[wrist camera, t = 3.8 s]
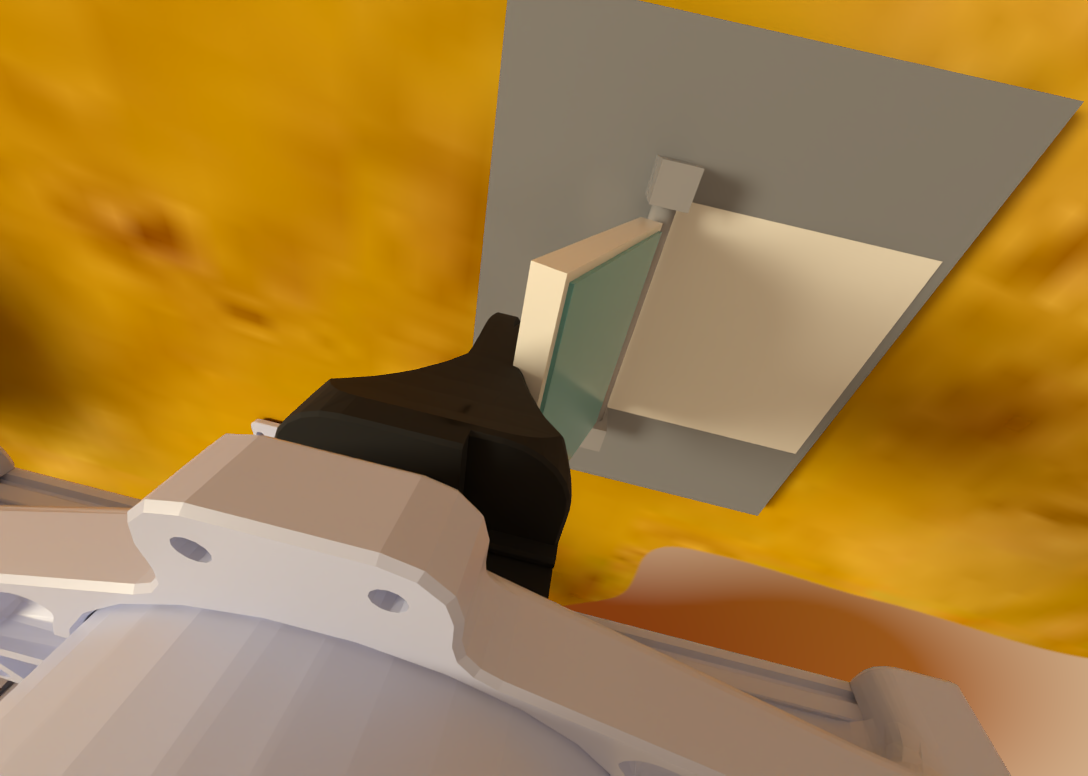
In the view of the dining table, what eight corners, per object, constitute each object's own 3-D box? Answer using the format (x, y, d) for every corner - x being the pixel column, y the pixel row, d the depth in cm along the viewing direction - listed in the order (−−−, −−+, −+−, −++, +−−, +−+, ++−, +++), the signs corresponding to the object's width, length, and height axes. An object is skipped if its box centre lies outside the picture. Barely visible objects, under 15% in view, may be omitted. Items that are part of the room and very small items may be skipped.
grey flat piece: (752, 500, 22) (769, 549, 19) (469, 429, 22) (450, 468, 20) (1050, 103, 12) (1167, 97, 9) (517, -19, 12) (491, -56, 9)
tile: (578, 415, 17) (596, 423, 17) (483, 536, 11) (507, 551, 11) (641, 216, 12) (666, 224, 12) (531, 260, 7) (573, 275, 7)
